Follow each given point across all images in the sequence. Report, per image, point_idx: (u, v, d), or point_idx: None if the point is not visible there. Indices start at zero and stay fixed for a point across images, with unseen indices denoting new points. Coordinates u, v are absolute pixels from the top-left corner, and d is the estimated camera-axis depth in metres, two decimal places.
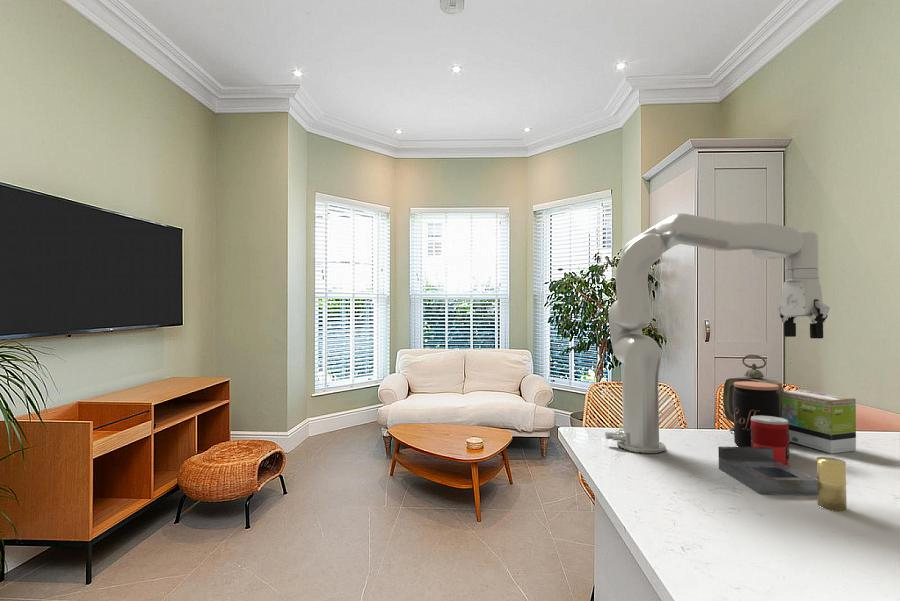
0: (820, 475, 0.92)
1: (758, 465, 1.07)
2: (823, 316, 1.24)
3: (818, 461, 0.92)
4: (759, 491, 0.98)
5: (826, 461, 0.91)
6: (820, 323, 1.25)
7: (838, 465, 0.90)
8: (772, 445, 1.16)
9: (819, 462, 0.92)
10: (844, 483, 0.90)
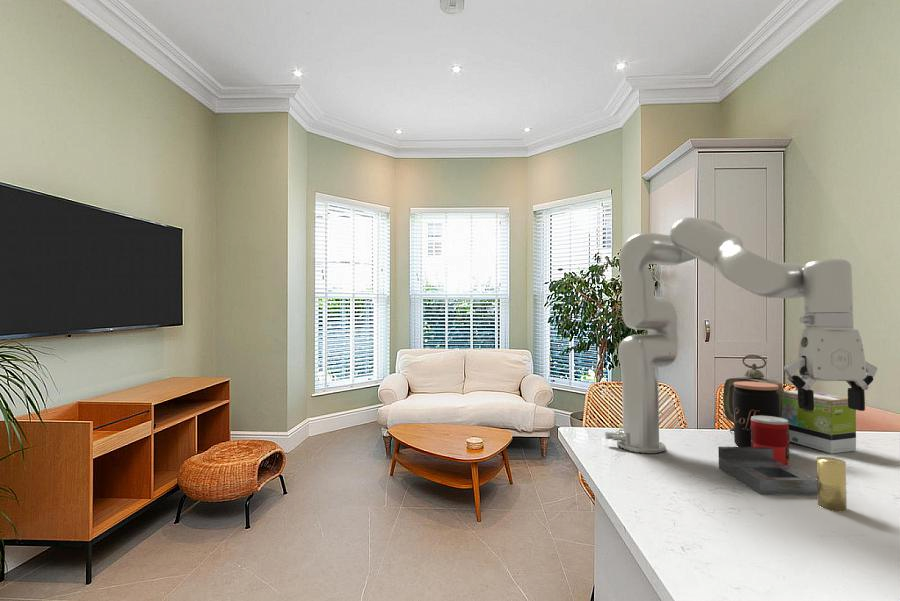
0: (820, 475, 0.92)
1: (758, 465, 1.07)
2: None
3: (818, 461, 0.92)
4: (759, 491, 0.98)
5: (826, 461, 0.91)
6: None
7: (838, 465, 0.90)
8: (772, 445, 1.16)
9: (819, 462, 0.92)
10: (844, 483, 0.90)
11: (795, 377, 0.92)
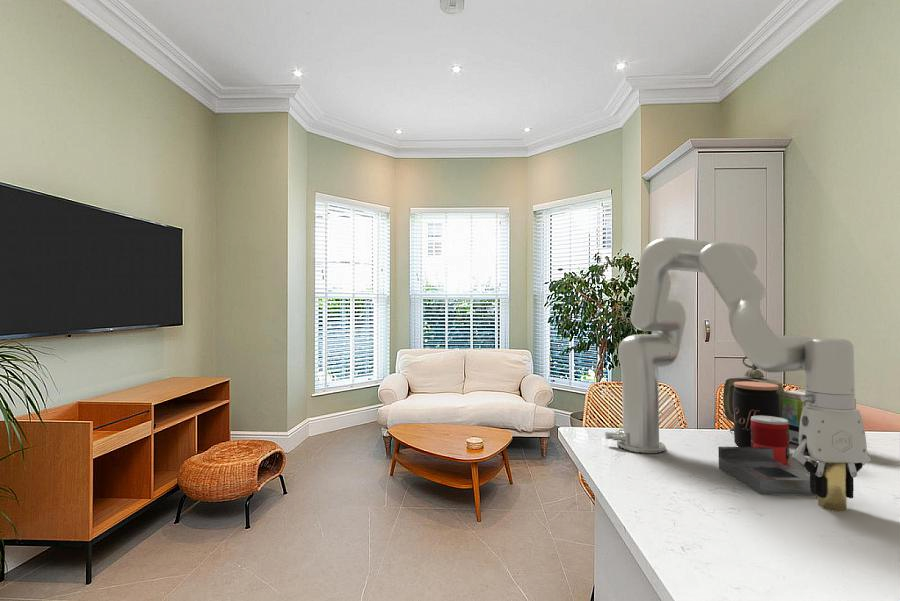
0: None
1: (758, 465, 1.07)
2: None
3: None
4: (759, 491, 0.98)
5: None
6: None
7: (838, 465, 0.90)
8: (772, 445, 1.16)
9: None
10: (844, 483, 0.90)
11: (807, 463, 0.91)
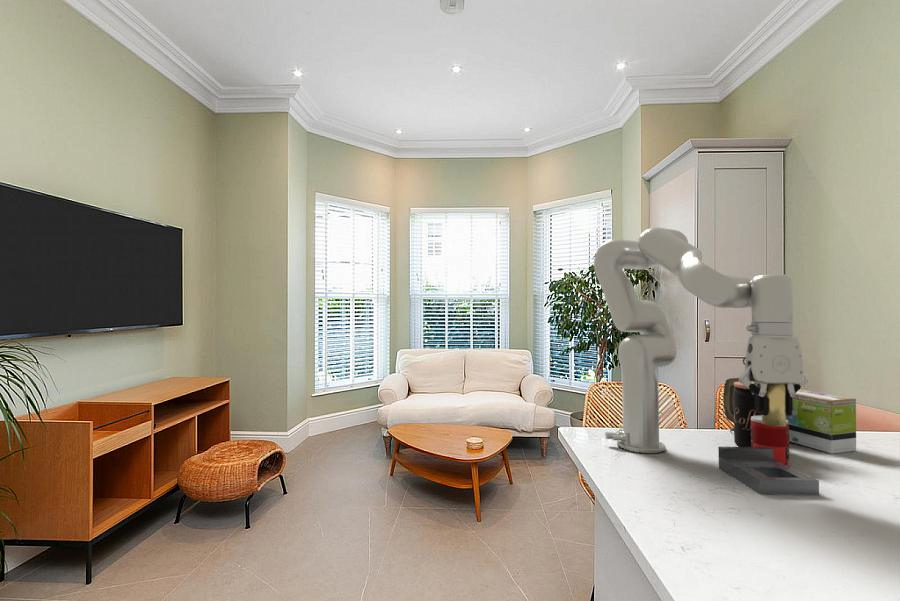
0: None
1: (758, 465, 1.07)
2: None
3: None
4: (759, 491, 0.98)
5: (768, 383, 1.02)
6: None
7: (778, 385, 1.01)
8: (772, 445, 1.16)
9: None
10: (784, 401, 1.01)
11: (752, 385, 1.02)
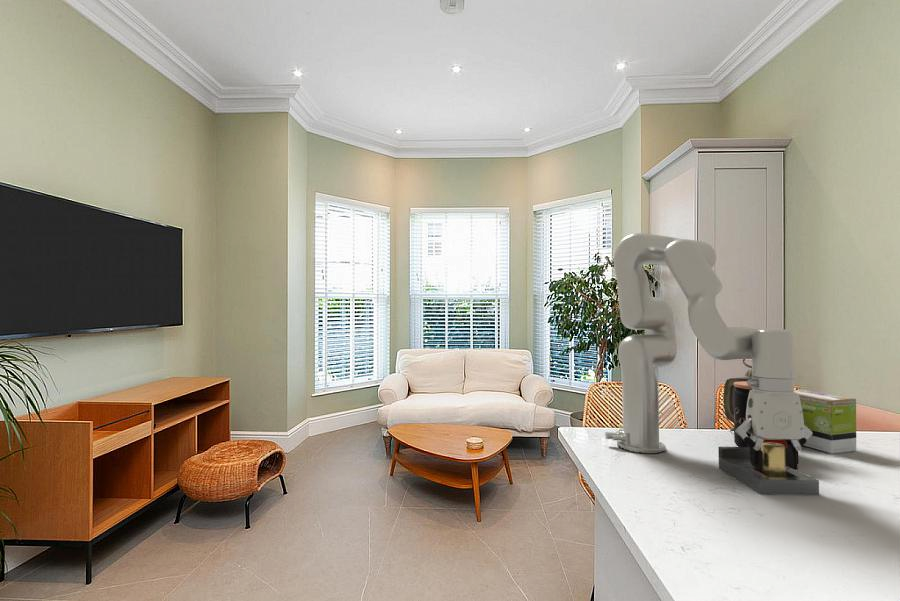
0: (763, 458, 1.03)
1: None
2: None
3: (762, 445, 1.03)
4: (759, 491, 0.98)
5: (768, 445, 1.02)
6: None
7: (778, 449, 1.01)
8: None
9: (763, 446, 1.03)
10: (784, 465, 1.01)
11: (747, 438, 1.02)
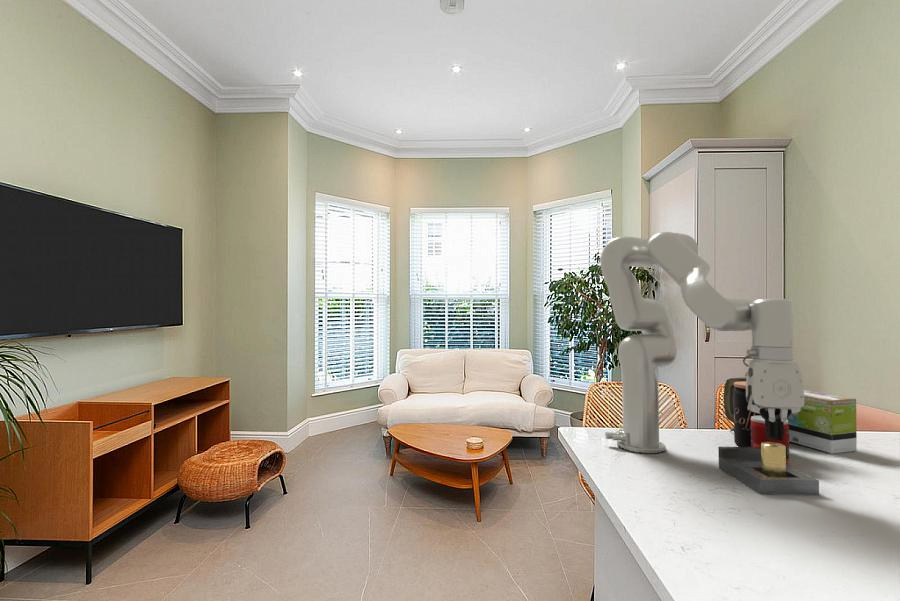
0: (763, 458, 1.03)
1: (758, 465, 1.07)
2: None
3: (762, 445, 1.03)
4: (759, 491, 0.98)
5: (768, 445, 1.02)
6: None
7: (778, 449, 1.01)
8: None
9: (763, 446, 1.03)
10: (784, 465, 1.01)
11: (762, 410, 1.02)
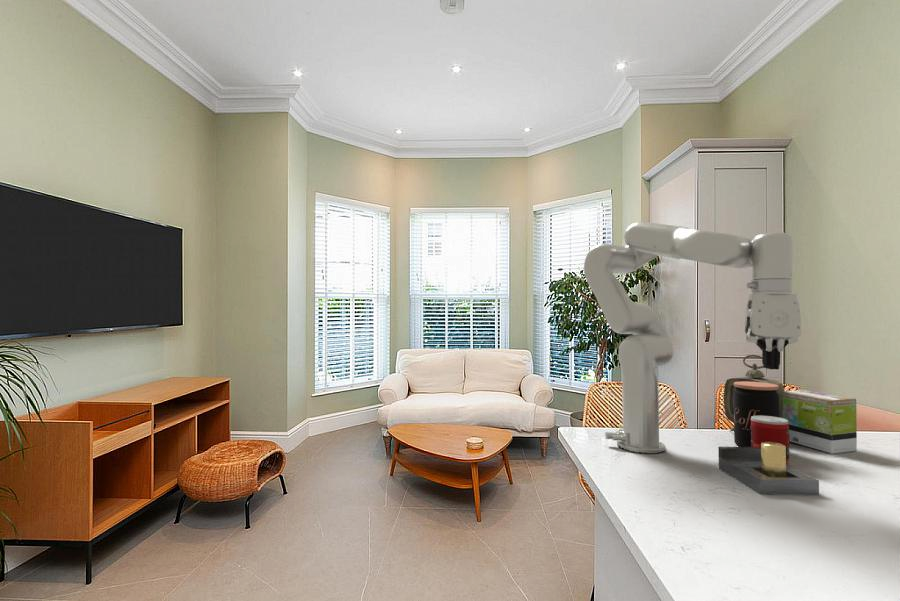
0: (763, 458, 1.03)
1: (758, 465, 1.07)
2: None
3: (762, 445, 1.03)
4: (759, 491, 0.98)
5: (768, 445, 1.02)
6: None
7: (778, 449, 1.01)
8: None
9: (763, 446, 1.03)
10: (784, 465, 1.01)
11: (759, 340, 1.06)
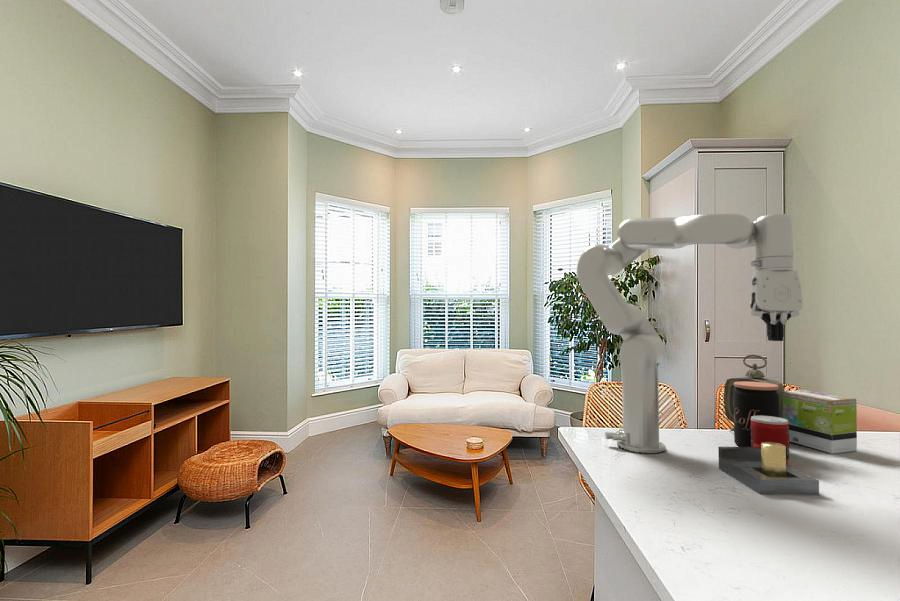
0: (763, 458, 1.03)
1: (758, 465, 1.07)
2: None
3: (762, 445, 1.03)
4: (759, 491, 0.98)
5: (768, 445, 1.02)
6: None
7: (778, 449, 1.01)
8: None
9: (763, 446, 1.03)
10: (784, 465, 1.01)
11: (764, 314, 1.14)
